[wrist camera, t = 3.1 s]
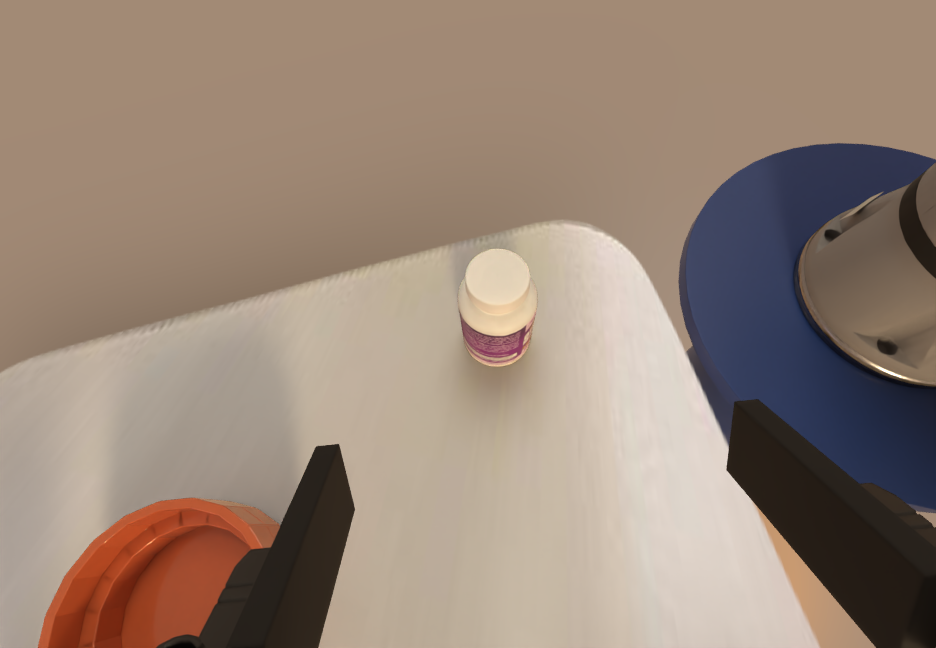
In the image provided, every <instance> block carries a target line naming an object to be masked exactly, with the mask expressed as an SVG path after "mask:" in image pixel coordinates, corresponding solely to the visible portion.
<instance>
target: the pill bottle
mask: <svg viewBox="0 0 936 648" xmlns="http://www.w3.org/2000/svg"><path fill="white" fill-rule="evenodd" d="M537 302H538V295H537V290H536V287H535V284H534V282H533V280H532V279H531V277H530V271H529V268H528V266H527V264H526V262H525V261H524V260H523V259H522V258H521V257H520V256H519V255H518V254H516V253H514V252H512V251H509V250H505V249H490V250H486V251H484V252H482V253H480V254H478V255H477V256H475V257H474V258H473V259H472V260H471V262H470V263H469V265H468V267H467V269H466V274H465V278H464V279H463V281H462V283H461V285H460V288H459V291H458V307H459V313H460V318H461V324H462V331H463V337H464V343H465V346H466V348H467V350H468V352H469V353H470V354H471V356H472V357H473V358H475V359H476V360H477V361H479V362H481V363H483V364H485V365H488V366H505V365H509V364H512V363H514V362H515V361H517V360H518V359H519V358H521V357H522V356H523V354H524V353H525V352H526V350H527V348H528V346H529V343H530V339H531V334H532V330H533V324H534V319H535V315H536V309H537Z"/></svg>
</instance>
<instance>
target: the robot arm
mask: <svg viewBox="0 0 936 648" xmlns="http://www.w3.org/2000/svg"><path fill="white" fill-rule="evenodd" d="M882 193H883V192H882ZM880 194H881V193H879V194H877V195H875V196H872V197H871V198H869V199H868V200H866V201H865V202H864V203H862V204H861V205H859V206H857V207H855V208H852V209H850V210H848V211H846V212H843V213H842V214H840V215H838V216H836V217H835V218H833V219H832V220H830V221H828V222H827V223H826V224H824V225H823V226H822V227H821V228H820V229H819V230H817V231H816V232H815V233H814V234H813V235H812V236H811V237H810V238H809V239H808V240H807V241H806V242H805V244H804V245H803V246H802V248H801V250H800V252H799V253H798V256H797V259H796V262H795V266H794V274H793V276H794V289H795V293H796V297H797V300H798V303H799V306H800V308H801V310H802V312H803V314H804V316H805V318H806V319H807V321H808V323H809V324H810V326H811V327H812V328H813V330H814V331H815V332H816V334H817V335H818V336H819V337H820V338H821V339H822V340H823V341H824V342H825V343H826V344H827V345H828V346H829V347H830V348H831V349H832V350H833V351H834V352H835V353H837V354H838V355H839V356H840V357H842V358H843V359H844V360H846V361H847V362H849V363H850V364H852V365H853V366H855V367H857V368H858V369H860V370H862V371H864V372H866V373H868V374H870V375H872V376H874V377H877V378H879V379H882V380H885V381H887V382H890V383H894V384H897V385H901V386H906V387H911V388H919V389H936V163H935V164H933V165H932V166H931V167H930V168H929V169H928V170H927V171H925V172H924V173H923V174H922V175H920V176H919V177H918V178H917V179H915V180H914V181H913V182H912V183H911V184H909V185H907V186H904V187H902V188H900V189H897V190H895V191H893V192H890V193H888V194H886V195H883V196H881V197H878V198H876V197H877V196H879V195H880ZM875 198H876V199H875ZM873 199H874V200H873ZM727 471H728V472H729V473H730V475H731V476H732V477H733V478H734V479H735V481H736V482H737V483H738V484H739V485H740V487H741V488H742V489H743V490H744V491H745V492H746V494H747V495H748V496H749V497H750V498H751V500H752V501H753V502H754V503H755V504H756V506H757V507H758V508H759V509H760V510H761V511H762V513H763V514H764V515H765V516H766V517H767V519H768V520H769V521H770V522H771V523H772V524H773V526H774V527H775V528H776V529H777V530H778V531H779V533H780V534H781V535H782V536H783V538H784V539H785V540H786V541H787V542H788V543H789V545H790V546H791V547H792V548H793V549H794V550H795V552H796V553H797V554H798V555H799V556H800V558H801V559H802V560H803V561H804V562H805V564H806V565H807V566H808V567H809V568H810V570H811V571H812V572H813V573H814V574H815V576H817V578H818V579H819V580H820V581H821V583H822V584H823V585H824V586H825V587H826V589H827V590H828V591H829V592H830V593H831V595H832V596H833V597H834V598H835V599H836V600H837V602H838V603H839V604H840V605H841V606H842V608H843V609H844V610H845V611H846V612H847V614H848V615H849V616H850V617H851V618H852V619H853V620H854V622H855V623H856V624H857V625H858V627H859V628H860V629H861V630H862V631H863V632H864V634H865V635H866V636H867V637H868V638H869V640H870V641H871V642H872V643H873V644H874V646H875V647H876V648H936V527H935V528H934V527H933V526H932V523H930V522H929V521H928V520H926V519H925V518H924V517H923V516H921V515H920V514H917V513H916V511H915V510H914V509H913V508H911V507H910V506H909V505H908V504H906V503H905V502H904V501H902V500H901V499H900V498H899V497H897V496H896V495H894V494H892V493H890V492H888V491H886V490H884V489H883V488H881V487H879V486H877V485H875V484H873V483H864V484H859V483H858V482H856V481H855V480H854V479H853V478H852V477H850V476H849V475H848V474H847V473H846V472H844V471H843V470H842V469H841V468H840V467H838V466H837V465H836V464H835V463H834V462H832V461H831V460H830V459H829V458H828V457H826V456H825V455H824V454H823V453H822V452H820V451H819V450H818V449H817V448H816V447H814V446H813V445H812V444H811V443H810V442H808V441H807V440H806V439H805V438H804V437H802V436H801V435H800V434H799V433H798V432H796V431H795V430H794V429H793V428H792V427H790V426H789V425H788V424H787V423H786V422H784V421H783V420H782V419H781V418H780V417H779V416H777V415H776V414H775V413H774V412H773V411H771V410H770V409H769V408H768V407H767V406H765V405H764V404H763V403H762V402H761V401H759V400H758V399H755V400H746V401H737V402H734V411H733V419H732V427H731V436H730V444H729V453H728V461H727ZM354 511H355V508H354V503H353V499H352V495H351V491H350V487H349V483H348V479H347V475H346V471H345V467H344V462H343V458H342V454H341V450H340V446H339V444H335V445H326V446H316V448H315V450H314V452H313V455H312V457H311V459H310V461H309V463H308V466H307V468H306V470H305V472H304V475H303V477H302V479H301V481H300V483H299V486H298V488H297V490H296V492H295V495H294V497H293V499H292V501H291V503H290V506H289V508H288V510H287V512H286V515H285V517H284V519H283V521H282V524H281V526H280V528H279V530H278V532H277V535H276V537H275V539H274V541H273V544H272V546H271V547H269V548H259V549H251V550H250V551H249V552H248V553H247V554H246V555H245V556H244V557H243V558H242V559H241V560H240V561H239V562H238V563H237V564H236V566H235V567H234V569H233V571H232V573H231V575H230V577H229V579H228V581H227V582H226V584H225V588H224V589H223V590H222V592H221V594H220V596H219V598H218V600H217V601H218V602H217V604H215V606H214V608H213V610H212V612H211V614H210V616H209V617H208V619H207V621H206V623H205V625H204V627H203V629H202V631H201V633H200V635H199V637H198V636H194V635H189V634H186V635H181V636H176V637H173V638H171V639H169V640H167V641H165V642H163V643H161V644H160V645H158V646H157V647H156V648H318V646H319V643H320V639H321V635H322V631H323V627H324V624H325V620H326V616H327V612H328V609H329V605H330V601H331V597H332V594H333V590H334V586H335V582H336V579H337V575H338V571H339V567H340V564H341V560H342V556H343V552H344V548H345V545H346V541H347V537H348V533H349V530H350V526H351V522H352V518H353V515H354Z"/></svg>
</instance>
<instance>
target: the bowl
mask: <svg viewBox="0 0 936 648" xmlns="http://www.w3.org/2000/svg"><path fill="white" fill-rule="evenodd" d="M279 528H280V525H279V524H278V523H277V522H275V521H274V520H273V519H271V518H270V517H269V516H267V515H266V514H264V513H263V512H262V511H260V510H259V509H257V508H255V507H251V506H247V505H243V504H239V503H235V502H231V501H222V500H212V499H202V498H184V499H174V500H165V501H159V502H156V503H154V504H151V505H149V506H147V507H144V508H142V509H140V510H137V511H135V512H133V513H131V514H128V515H126V516H124V517H123V518H122V519H120V520H119V521H118V522H116V523H115V524H114V525H113V526H111V527H110V528H109V529H107V530H106V531H105V532H104V533H102V534H101V535H100V536H98V537H97V538H96V539H95V540H93V542H92V543H91V544H90V545H89V546H88V548H87V549H86V550H85V551H84V553H83V554H82V555H81V556H80V558H79V559H78V560H77V561H76V563H75V564H74V565H73V566H72V567H71V569H70V570H69V571H68V572H67V574H66V575H65V577H64V579H63V581H62V583H61V585H60V587H59V589H58V591H57V593H56V595H55V597H54V599H53V601H52V603H51V605H50V607H49V609H48V611H47V613H46V616H45V619H44V623H43V627H42V632H41V636H40V640H39V644H38V648H156V647H157V646H158V645H160V644H161V643H163V642H165V641H167V640H169V639H171V638H173V637H176V636H181V635H186V634H189V635H194V636H198V637H199V635H200V633H201V631H202V629H203V627H204V625H205V623H206V621H207V619H208V617H209V616H210V614H211V612H212V610H213V608H214V606H215V604H217V602H218V601H217V600H218V598H219V596H220V594H221V592H222V590H223V589H224V588H225V584H226V582H227V581H228V579H229V577H230V575H231V573H232V571H233V569H234V567H235V566H236V564H237V563H238V562H239V561H240V560H241V559H242V558H243V557H244V556H245V555H246V554H247V553H248V552H249V551H250V550H251V549H259V548H269V547H271V546H272V544H273V541H274V539H275V537H276V535H277V532H278V530H279Z"/></svg>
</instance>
